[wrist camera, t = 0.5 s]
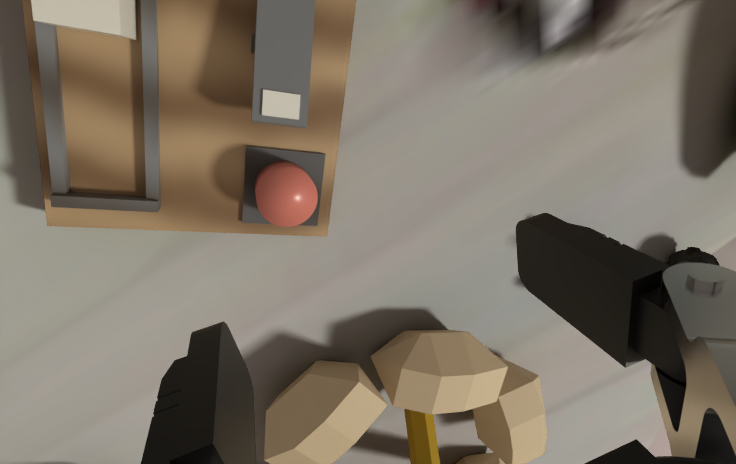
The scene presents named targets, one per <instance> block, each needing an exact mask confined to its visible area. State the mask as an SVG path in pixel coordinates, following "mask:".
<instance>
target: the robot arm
mask: <svg viewBox="0 0 736 464" xmlns="http://www.w3.org/2000/svg"><path fill="white" fill-rule="evenodd" d="M516 242H517V259H518V272H519V276H520V279H521V281H522V283H523V284H524V286H525V287H526V289H527V290H528V291H529V292H531V293H532V294H533V295H534V296H536V297H537V298H538V299H539V300H541V301H542V302H543V303H545V304H546V305H547V306H548V307H550V308H551V309H552V310H553V311H555V312H556V313H557V314H558V315H560V316H561V317H562V318H563V319H565V320H566V321H567V322H568V323H570V324H571V325H572V326H574V327H575V328H576V329H577V330H579V331H580V332H581V333H582V334H584V335H585V336H586V337H587V338H589V339H590V340H591V341H592V342H594V343H595V344H596V345H597V346H599V347H600V348H601V349H603V350H604V351H605V352H606V353H608V354H609V355H610V356H611V357H613V358H614V359H615V360H616V361H618V362H619V363H620V364H621V365H623V366H624V367H625V368H626V367H628V366H631V365H633V364H635V363H638V362H640V361H642V360H644V359H646V360H648V361H649V362H651V363H652V366H651V378H652V382H653V385H654V389H655V393H656V396H657V400H658V403H659V407H660V410H661V414H662V418H663V421H664V425H665V428H666V432H667V436H668V439H669V443H670V447H671V454H672V456H667V457H666V456H663V457H654V456H653V455H652V454H651V453H650V452H649V451H648V450H647V449H646V448H645V447H644V446H643V445H642V444H641V443H640V442H639V441H638V440H637V439H636V440H634V441H632V442H630V443H628V444H625V445H623V446H621V447H619V448H617V449H615V450H613V451H611V452H608V453H606V454H604V455H602V456H600V457H598V458H596V459H593V460H591V461H589V462H587V463H585V464H736V272H735V271H733V270H730V269H727V268H724V267H721V266H718V265H713V264H707V263H682V264H677V265H674V266H669V265H667V264H665V263H663V262H660V261H658V260H656V259H654V258H652V257H650V256H648V255H646V254H644V253H641V252H639V251H637V250H635V249H633V248H631V247H629V246H627V245H625V244H622V245H621V244H620V242H618V241H616V240H614V239H612V238H610V237H609V238H607V237H606V235H604V234H601V233H599V232H597V231H595V230H593V229H591V228H588V227H583V226H579V225H574V224H570V223H567V222H565V221H563V220H561V219H559V218H557V217H554V216H552V215H550V214H548V213H542V214H539V215H536V216H533V217H531V218H528V219H525V220H522V221H519V222H518V224H517V226H516ZM157 398H158V401H156V404H155V408H154V417H152V421H151V425H150V429H149V433H148V437H147V441H146V445H145V449H144V453H143V457H142V461H141V464H256V446H255V421H254V396H253V387H252V382H251V378H250V375H249V372H248V369H247V367H246V365H245V362H244V360H243V358H242V356H241V354H240V351H239V349H238V347H237V345H236V343H235V341H234V338H233V336H232V334H231V332H230V330H229V328H228V326H227V324H226V323H225V322H221V323H218V324H215V325H212V326H209V327H206V328H203V329H200V330H197V331H194V332H192V334H191V338H190V344H189V349H188V355H187V356H186V357H183V358H180V359H177V360H175V361H174V362H173V364H172V365H171V367H170V368H169V369H168V371H167V372H166V374H165V375H164V377H163V378H162V380H161V384H160V388H159V392H158V396H157Z"/></svg>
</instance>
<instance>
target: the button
mask: <svg viewBox="0 0 736 464" xmlns="http://www.w3.org/2000/svg"><path fill="white" fill-rule="evenodd" d="M255 195H256V202H257V206H258V209H259V211H260V213H261V214H262V216H263V217H264V218H265V219H266V220H267V221H269V222H270V223H272V224H274V225H277V226H281V227H292V226H296V225H299V224H301V223H303V222H305V221H306V220H307V219H308V218H309V217H310V216H311V215H312V214H313V212H314V210H315V208H316V205H317V201H318V194H317V189H316V186H315V184H314V183H313V181H312V180H311V178H310V177H309V175H308V174H307V172H306V171H305V170H304V169H303V168H302V167H301V166H299V165H298V164H296V163H294V162H290V161H277V162H273V163H271V164H269V165H267V166H266V167H264V168H263V169H262V170H261V172H260V173H259V175H258V176H257V179H256V182H255Z"/></svg>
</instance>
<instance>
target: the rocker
mask: <svg viewBox="0 0 736 464" xmlns="http://www.w3.org/2000/svg"><path fill="white" fill-rule="evenodd" d="M314 13H315V0H257V7H256V28H255V49H254V71H253V92H252V113H251V123H259V124H268V125H276V126H284V127H292V128H301V129H305V128H306V127H307V121H308V106H309V90H310V75H311V60H312V44H313V29H314Z"/></svg>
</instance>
